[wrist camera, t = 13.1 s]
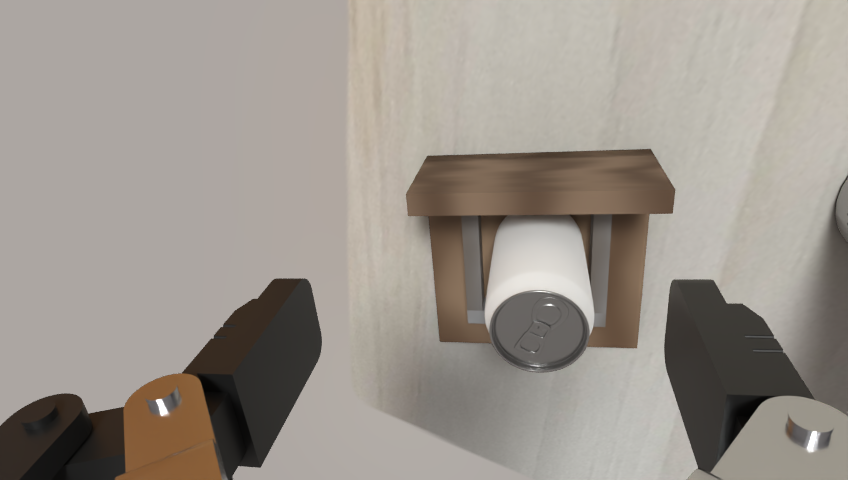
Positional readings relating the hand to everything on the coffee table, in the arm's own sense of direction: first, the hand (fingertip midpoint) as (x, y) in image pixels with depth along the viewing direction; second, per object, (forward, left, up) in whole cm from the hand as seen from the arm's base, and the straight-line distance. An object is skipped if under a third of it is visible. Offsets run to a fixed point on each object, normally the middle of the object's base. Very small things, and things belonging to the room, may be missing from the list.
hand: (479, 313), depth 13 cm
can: (-1, +12, -29) cm, 31 cm away
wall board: (-1, +14, -30) cm, 33 cm away
